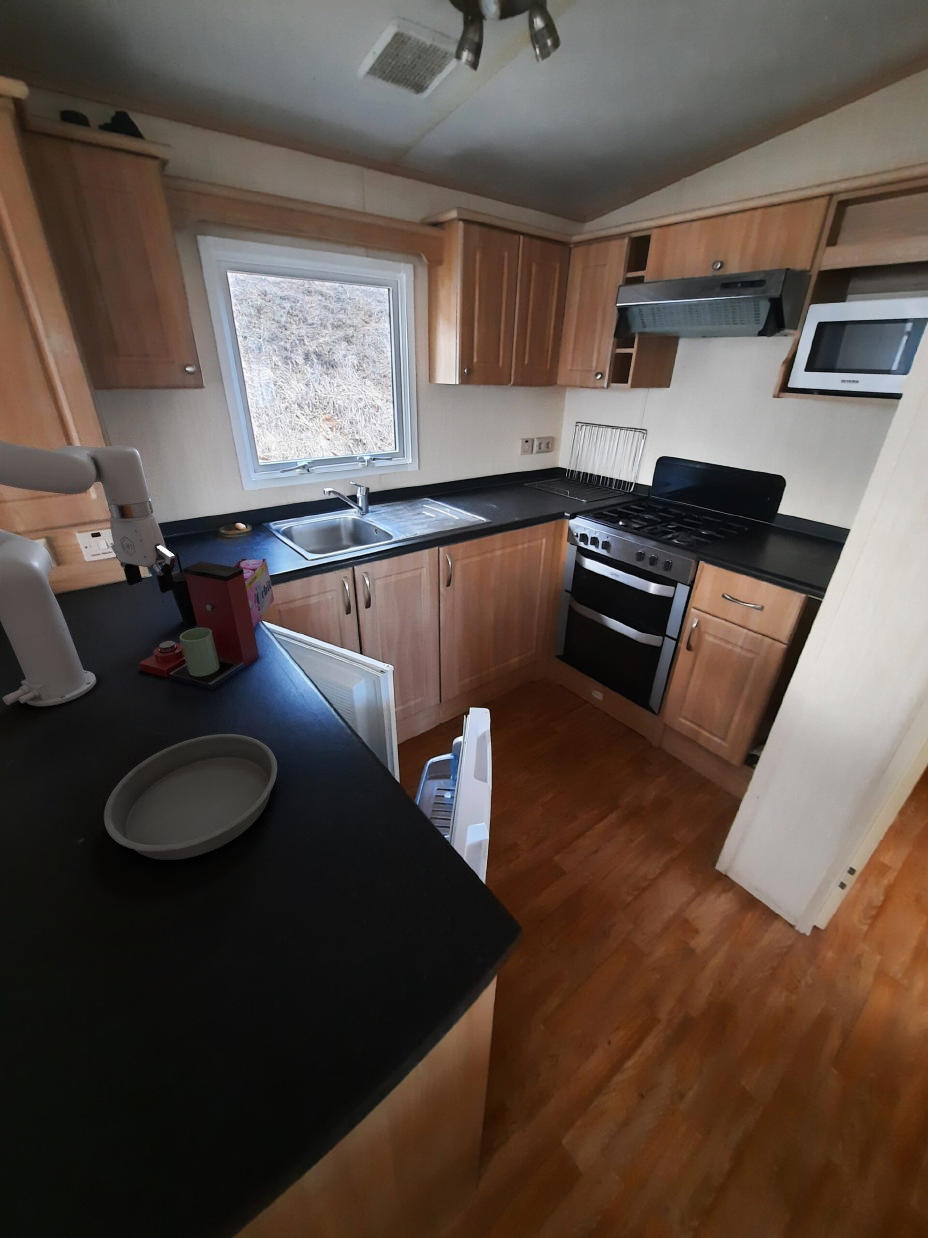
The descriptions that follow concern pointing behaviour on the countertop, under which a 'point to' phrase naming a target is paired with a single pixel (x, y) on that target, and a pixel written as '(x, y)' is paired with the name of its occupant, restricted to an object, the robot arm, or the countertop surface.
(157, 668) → the button block
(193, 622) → the drinking cup
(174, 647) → the button
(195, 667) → the cup
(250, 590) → the gum box
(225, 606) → the coffee maker
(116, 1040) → the countertop surface
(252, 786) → the cake pan
